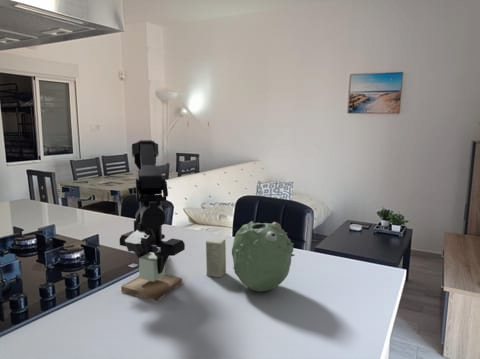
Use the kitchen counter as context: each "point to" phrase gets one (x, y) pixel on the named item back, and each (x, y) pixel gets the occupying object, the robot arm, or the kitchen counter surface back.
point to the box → (216, 257)
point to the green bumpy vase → (262, 255)
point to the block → (149, 267)
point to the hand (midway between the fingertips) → (152, 271)
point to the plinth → (151, 287)
